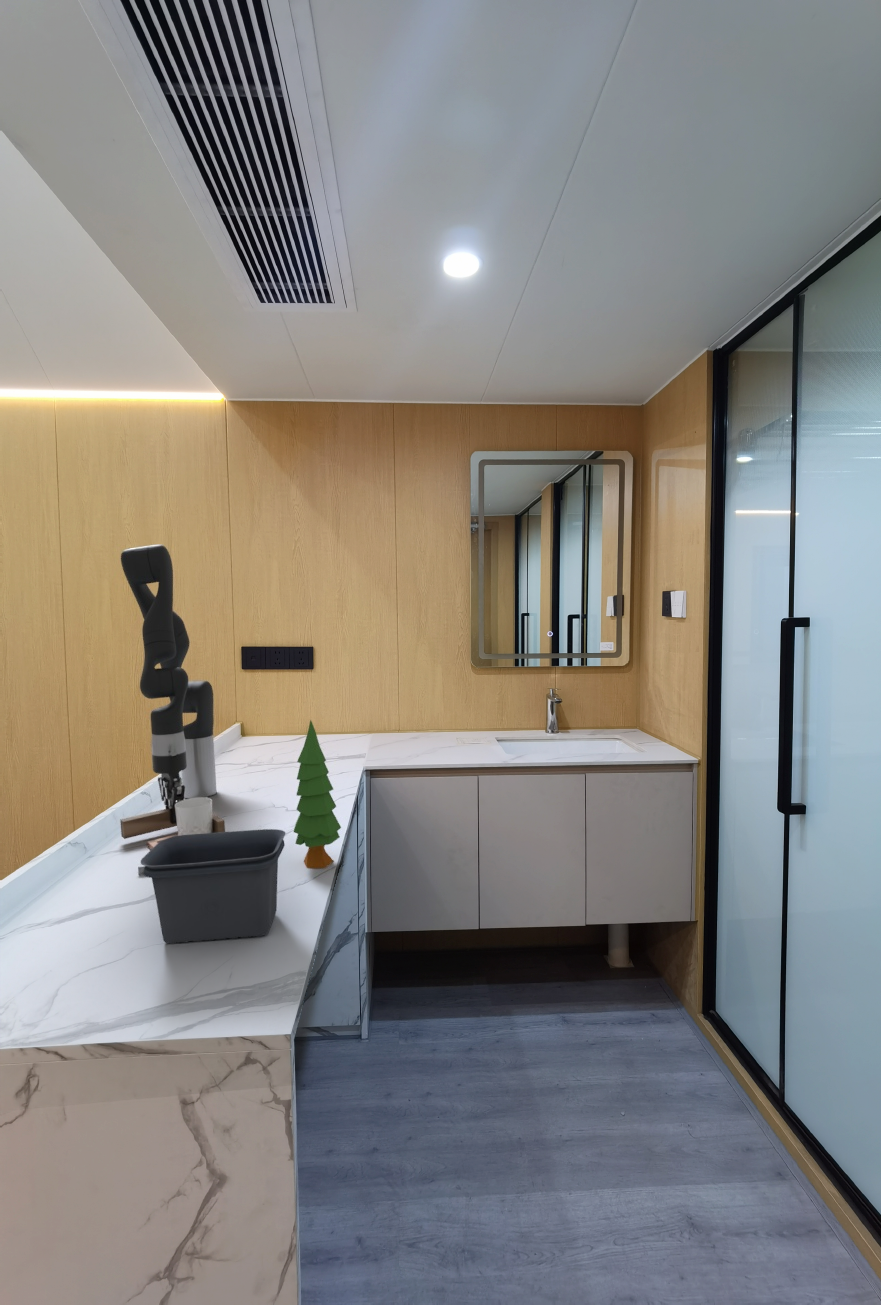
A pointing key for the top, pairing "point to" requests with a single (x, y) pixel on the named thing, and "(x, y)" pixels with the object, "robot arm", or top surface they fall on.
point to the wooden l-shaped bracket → (158, 823)
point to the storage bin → (215, 884)
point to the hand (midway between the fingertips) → (173, 821)
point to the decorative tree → (315, 804)
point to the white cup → (194, 816)
